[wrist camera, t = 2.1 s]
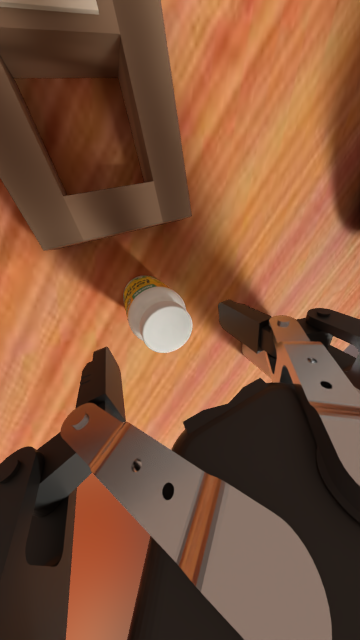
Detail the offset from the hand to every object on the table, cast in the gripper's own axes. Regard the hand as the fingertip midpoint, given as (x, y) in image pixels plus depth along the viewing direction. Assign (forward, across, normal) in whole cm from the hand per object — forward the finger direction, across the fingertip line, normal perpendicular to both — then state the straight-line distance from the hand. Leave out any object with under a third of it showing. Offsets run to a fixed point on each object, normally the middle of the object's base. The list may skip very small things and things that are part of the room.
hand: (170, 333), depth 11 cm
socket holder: (+11, 0, -13) cm, 17 cm away
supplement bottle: (+11, 0, +1) cm, 11 cm away
